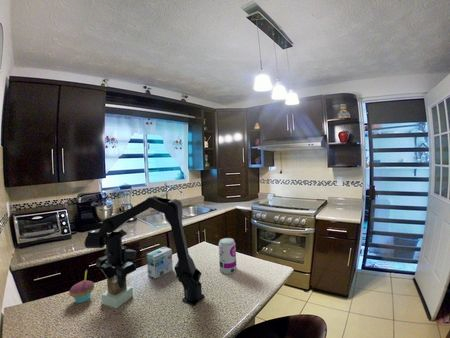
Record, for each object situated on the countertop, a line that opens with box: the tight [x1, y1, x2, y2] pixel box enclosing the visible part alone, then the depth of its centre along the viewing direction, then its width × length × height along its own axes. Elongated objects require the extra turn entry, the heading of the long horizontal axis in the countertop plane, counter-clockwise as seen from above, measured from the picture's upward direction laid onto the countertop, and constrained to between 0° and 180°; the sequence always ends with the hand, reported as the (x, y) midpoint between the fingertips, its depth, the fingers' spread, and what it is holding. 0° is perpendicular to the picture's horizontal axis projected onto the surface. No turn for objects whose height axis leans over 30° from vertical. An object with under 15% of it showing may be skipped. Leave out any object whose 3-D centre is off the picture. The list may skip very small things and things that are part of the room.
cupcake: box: [68, 268, 95, 304], centre depth 88 cm, size 9×8×12 cm
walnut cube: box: [106, 275, 128, 295], centre depth 87 cm, size 5×5×5 cm
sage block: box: [100, 285, 134, 309], centre depth 87 cm, size 8×8×4 cm
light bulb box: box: [146, 246, 174, 280], centre depth 107 cm, size 11×7×11 cm, turn 143°
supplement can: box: [218, 237, 238, 275], centre depth 106 cm, size 8×8×15 cm
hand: (116, 285), depth 87 cm, fingers open, 6 cm apart
